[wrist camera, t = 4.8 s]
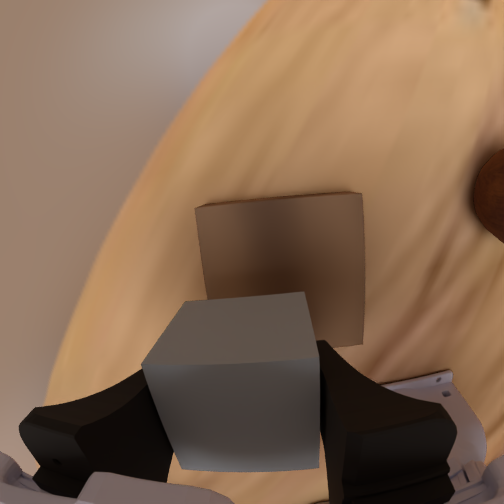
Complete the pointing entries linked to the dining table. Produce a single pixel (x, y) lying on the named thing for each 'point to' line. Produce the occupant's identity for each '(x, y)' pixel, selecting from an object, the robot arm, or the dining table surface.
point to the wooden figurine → (491, 195)
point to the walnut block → (291, 256)
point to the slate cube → (239, 384)
